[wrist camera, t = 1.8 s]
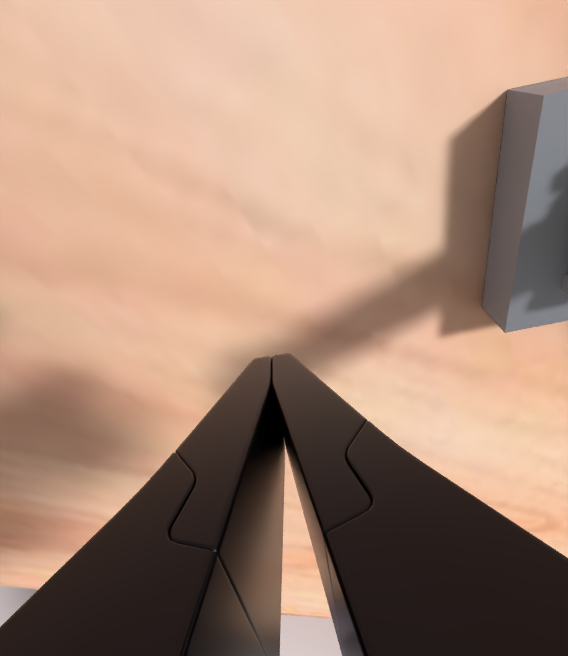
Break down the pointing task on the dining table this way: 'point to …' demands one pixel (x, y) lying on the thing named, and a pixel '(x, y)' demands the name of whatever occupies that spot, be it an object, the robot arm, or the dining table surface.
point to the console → (530, 211)
